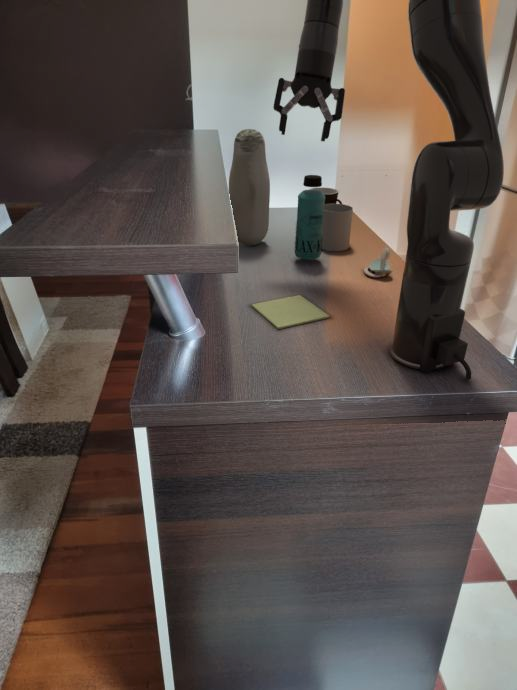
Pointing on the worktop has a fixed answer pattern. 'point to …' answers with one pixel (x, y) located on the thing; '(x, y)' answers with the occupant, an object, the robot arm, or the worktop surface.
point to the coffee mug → (329, 195)
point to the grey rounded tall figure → (250, 187)
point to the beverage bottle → (310, 220)
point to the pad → (289, 311)
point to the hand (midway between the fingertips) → (302, 137)
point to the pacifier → (379, 265)
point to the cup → (336, 227)
